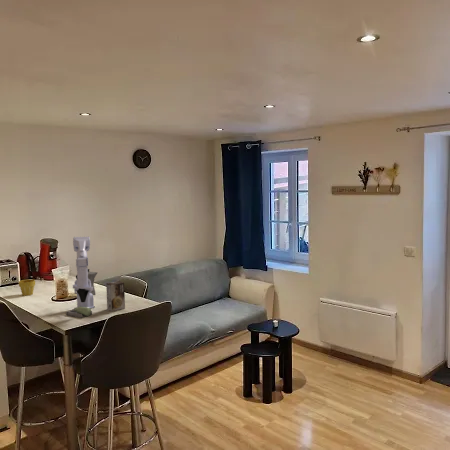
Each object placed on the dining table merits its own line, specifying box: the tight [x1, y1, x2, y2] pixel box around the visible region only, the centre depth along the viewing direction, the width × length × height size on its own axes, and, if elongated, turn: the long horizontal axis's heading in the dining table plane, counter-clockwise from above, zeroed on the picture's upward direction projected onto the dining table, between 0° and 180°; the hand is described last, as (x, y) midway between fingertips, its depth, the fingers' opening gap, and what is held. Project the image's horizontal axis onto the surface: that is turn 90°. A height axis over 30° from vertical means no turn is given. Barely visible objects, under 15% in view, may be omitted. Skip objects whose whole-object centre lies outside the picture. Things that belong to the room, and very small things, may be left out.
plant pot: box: [18, 279, 36, 297], centre depth 302 cm, size 10×10×10 cm
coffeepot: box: [75, 268, 98, 296], centre depth 300 cm, size 15×9×18 cm, turn 129°
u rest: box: [66, 308, 93, 319], centre depth 251 cm, size 8×12×2 cm, turn 60°
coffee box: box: [105, 280, 126, 312], centre depth 263 cm, size 9×6×16 cm
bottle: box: [74, 306, 92, 317], centre depth 250 cm, size 4×4×10 cm
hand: (83, 301), depth 249 cm, fingers closed
